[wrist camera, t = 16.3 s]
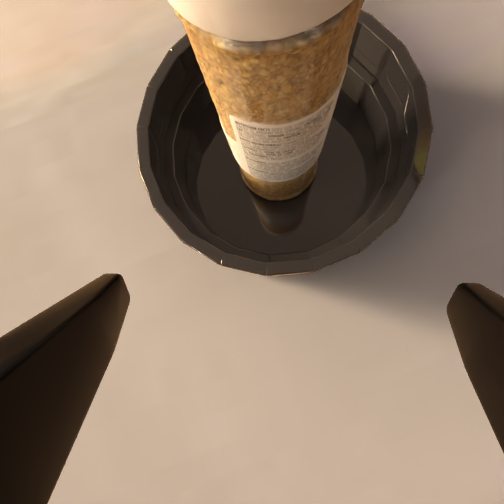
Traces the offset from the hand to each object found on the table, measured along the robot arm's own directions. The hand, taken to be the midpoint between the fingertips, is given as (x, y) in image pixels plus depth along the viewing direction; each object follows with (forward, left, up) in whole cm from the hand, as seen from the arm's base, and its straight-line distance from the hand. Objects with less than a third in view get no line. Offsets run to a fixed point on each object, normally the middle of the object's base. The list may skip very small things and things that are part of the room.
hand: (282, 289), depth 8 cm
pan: (+7, +1, -9) cm, 12 cm away
